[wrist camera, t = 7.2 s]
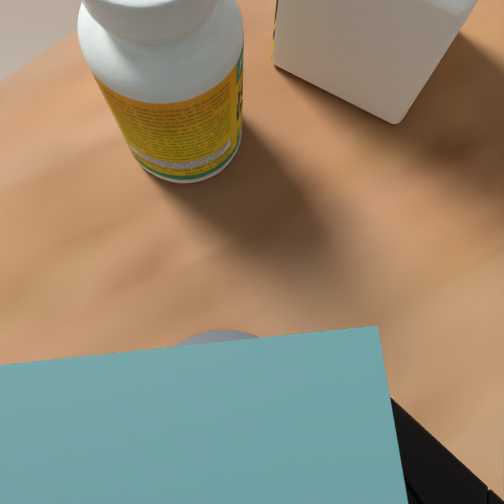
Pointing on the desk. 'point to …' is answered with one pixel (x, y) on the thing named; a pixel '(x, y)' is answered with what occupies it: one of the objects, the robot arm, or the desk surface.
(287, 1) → the medicine bottle
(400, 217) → the desk surface
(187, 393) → the teal box
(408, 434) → the robot arm
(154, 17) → the supplement bottle
